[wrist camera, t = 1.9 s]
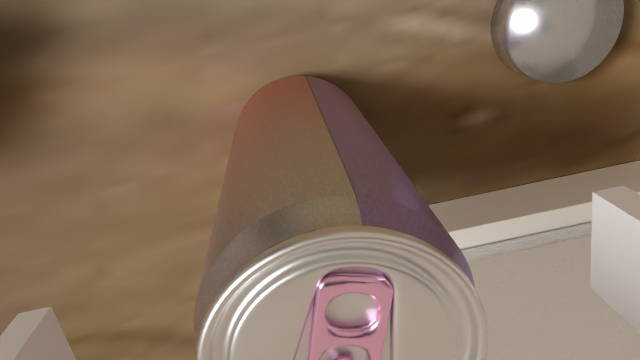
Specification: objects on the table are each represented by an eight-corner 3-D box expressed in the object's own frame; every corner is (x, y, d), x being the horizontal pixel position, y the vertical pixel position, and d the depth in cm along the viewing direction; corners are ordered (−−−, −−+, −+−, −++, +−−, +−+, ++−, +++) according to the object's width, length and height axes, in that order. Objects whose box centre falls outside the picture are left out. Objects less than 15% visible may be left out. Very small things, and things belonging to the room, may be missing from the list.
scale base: (376, 215, 25) (389, 244, 22) (642, 159, 25) (688, 181, 23) (406, 413, 30) (420, 456, 28) (626, 364, 31) (662, 402, 28)
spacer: (486, -27, 21) (507, -28, 20) (596, -49, 21) (627, -53, 20) (491, 84, 23) (511, 93, 21) (592, 63, 23) (620, 70, 22)
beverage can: (369, 78, 22) (535, 231, 8) (353, 197, 25) (464, 473, 11) (238, 67, 22) (185, 213, 8) (233, 190, 24) (184, 478, 10)
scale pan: (414, 260, 22) (420, 272, 22) (664, 207, 23) (680, 216, 22) (437, 442, 27) (443, 458, 26) (645, 396, 27) (658, 410, 26)
